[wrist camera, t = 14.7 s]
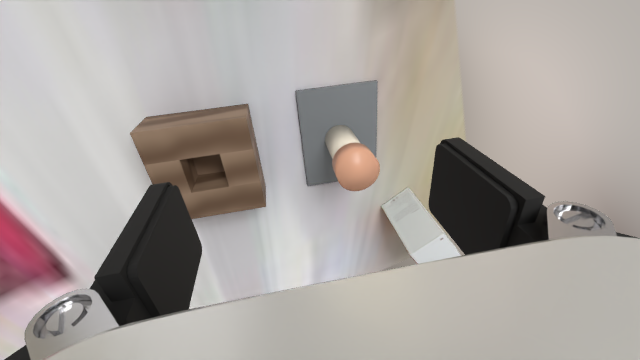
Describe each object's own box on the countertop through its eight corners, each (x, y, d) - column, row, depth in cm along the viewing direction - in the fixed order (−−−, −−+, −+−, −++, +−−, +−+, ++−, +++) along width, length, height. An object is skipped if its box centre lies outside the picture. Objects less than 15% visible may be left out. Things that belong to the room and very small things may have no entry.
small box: (380, 205, 56) (409, 255, 45) (408, 186, 55) (445, 232, 44) (400, 229, 60) (431, 279, 49) (426, 211, 59) (464, 259, 48)
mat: (295, 90, 43) (296, 91, 42) (376, 80, 44) (377, 81, 43) (307, 184, 51) (307, 186, 50) (374, 173, 52) (375, 175, 52)
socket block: (146, 117, 41) (129, 133, 36) (247, 103, 42) (246, 117, 37) (179, 199, 48) (169, 222, 43) (265, 185, 50) (265, 206, 45)
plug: (320, 124, 45) (336, 155, 36) (356, 119, 46) (380, 149, 37) (323, 156, 48) (337, 193, 39) (356, 152, 49) (378, 187, 39)
